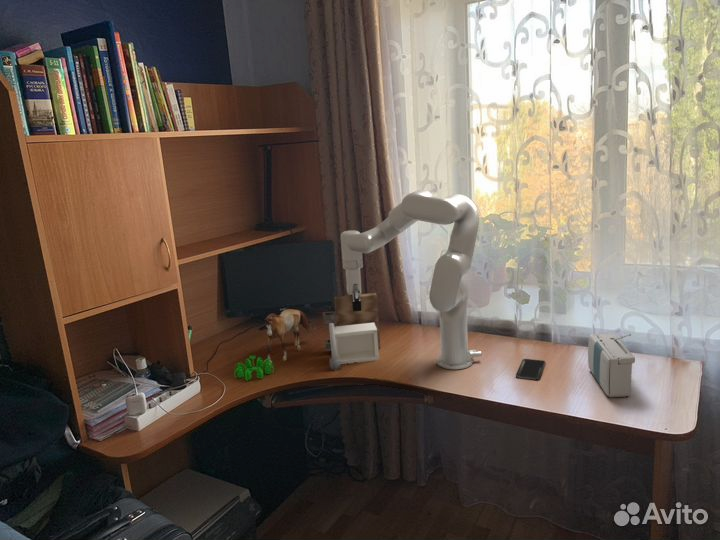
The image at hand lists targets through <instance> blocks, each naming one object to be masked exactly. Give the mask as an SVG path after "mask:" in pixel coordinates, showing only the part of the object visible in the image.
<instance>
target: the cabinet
mask: <svg viewBox="0 0 720 540" xmlns="http://www.w3.org/2000/svg"><path fill="white" fill-rule="evenodd" d="M328 330H329V339H330V342H331V357H330V358H329V359H328V360H329V369H330V371H339V370H340V369H341V365H346V364H347V363H348V364H354V362H357V363H366V362H374V361H380V354H379V353H380V352H379V349H378V337H377V328H376V326H375V323H365V324H355V325H346V326H337V325H336V326H335V323H329V324H328ZM338 369H339V370H338Z"/></svg>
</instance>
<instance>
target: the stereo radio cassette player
mask: <svg viewBox="0 0 720 540" xmlns="http://www.w3.org/2000/svg"><path fill="white" fill-rule="evenodd" d="M631 336H632V334H631V333H629V334H626V335H624V336H620V337H617V335H616V334H614V333H599V334H596V333H595V334H593V333H592V334H589V337H588V343H587V344H588V345H587V346H588V348H587V362H588V363H587V365H588V369H589V371H590V372H591V373H592V376H594V378H595V380H596V381H597V383H598V384H599V386H600V387H601V389H602V390H603V392H604V393H605V394H606V396H607V397H609V398H622V397H623V398H624V397H626V396H628V397H630V396H631V394H632V393H631V392H632V374H633V373H632V372H633V369H632V367H633V364H634V363H635V362H636V357H635V356H634V355H633V354H632V353H631V351H630V350H629V348H627V347H626V346H625V345H624V344H623V342H622V341H621V339H624V338H626V337H631ZM626 398H627V397H626Z"/></svg>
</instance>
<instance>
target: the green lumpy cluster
mask: <svg viewBox="0 0 720 540" xmlns="http://www.w3.org/2000/svg"><path fill="white" fill-rule="evenodd" d="M256 358H257V359H256ZM255 359H256V366H255V362H254V360H255ZM251 360H252V362H251ZM268 360H271V361H272V364H270V361H268ZM274 371H275V369H274V362H273V360H272V359H271V358H270V359H268V358H266V359H264V360H263V358H262V357H261V356H259V357H256V355H254V354H253V355H249V358H246V359H245V364H244V363H243V362H237V363H236V364H235V365H234V372H233V374H234V377H235V378H236V379H237V380H238V378H239V379H241V378H244V379H245V381H246V382H249V381H250V380H252V378H253V377H252V373H253V372H256V377H257V378H258V379H260V380H263V379H264V375H272V374H273V373H274ZM236 375H237V376H236Z"/></svg>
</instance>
